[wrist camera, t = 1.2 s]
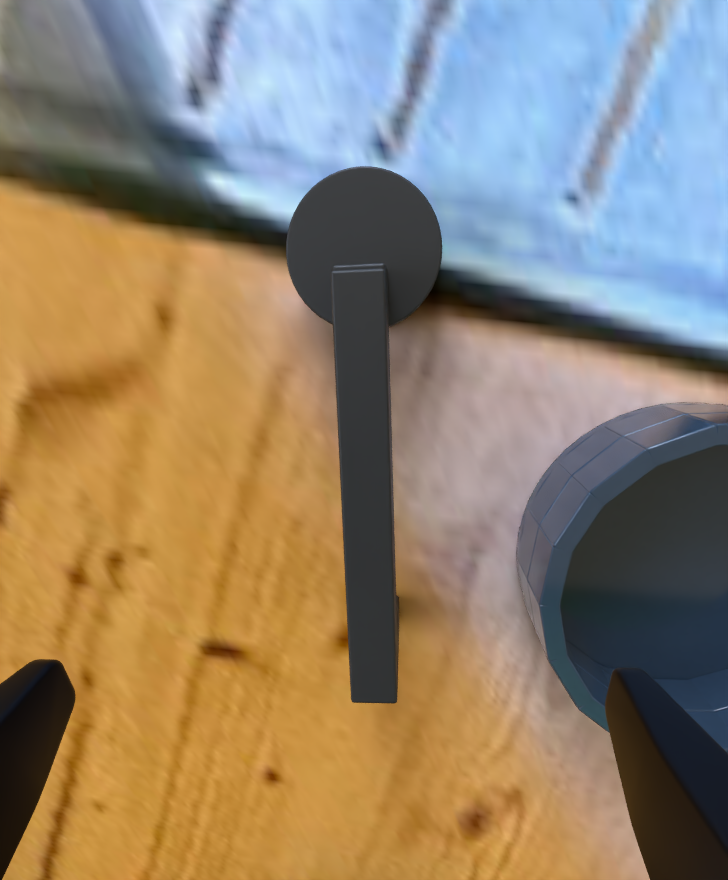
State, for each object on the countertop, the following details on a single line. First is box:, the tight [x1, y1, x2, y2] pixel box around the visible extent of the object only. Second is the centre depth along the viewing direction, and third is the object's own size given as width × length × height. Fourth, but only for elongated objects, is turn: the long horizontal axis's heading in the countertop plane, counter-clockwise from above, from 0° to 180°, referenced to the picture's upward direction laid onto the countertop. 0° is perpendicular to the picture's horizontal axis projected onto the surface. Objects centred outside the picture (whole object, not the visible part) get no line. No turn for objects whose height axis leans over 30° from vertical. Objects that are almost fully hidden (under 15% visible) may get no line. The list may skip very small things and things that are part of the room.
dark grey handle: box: [286, 166, 442, 703], centre depth 20 cm, size 18×5×6 cm, turn 2°
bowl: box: [517, 402, 728, 753], centre depth 20 cm, size 12×13×4 cm
